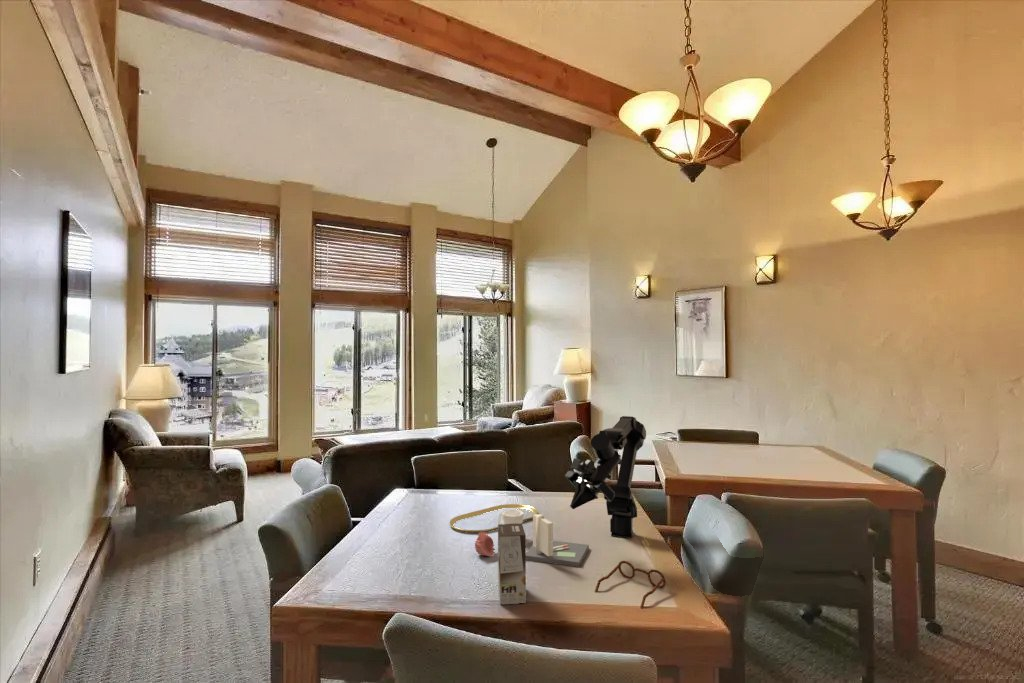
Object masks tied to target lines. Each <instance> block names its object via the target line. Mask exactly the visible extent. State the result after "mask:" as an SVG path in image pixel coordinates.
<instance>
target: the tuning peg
mask: <svg viewBox="0 0 1024 683" xmlns="http://www.w3.org/2000/svg"><path fill="white" fill-rule="evenodd" d="M532 516H533V518H532V545H533V546H534V547H536V553H538V554H543V553H544V554H546V555H547V556H553V549H558V548H564V547H568V545H567V544H566V545H562V546H557V547H553V541H554V530H553V529H554V523H553V522H552V521H550V520H549V519H547V518H545V515H544V514H541V513H540V514H538V513H537V514H535V515H533V514H532Z"/></svg>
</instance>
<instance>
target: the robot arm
mask: <svg viewBox="0 0 1024 683" xmlns="http://www.w3.org/2000/svg"><path fill="white" fill-rule="evenodd" d="M646 438H647V430H646V428H645V425H644V424H643V423H641V422H640V421H638V420H637V417H634V416H629V415H623V416H620V417H619V420H618V422H616V423H615V425H614V426H612V427H610V428H605V429H603V430H599V433H597V434H595V435H594V436H593V437H592V438H591V439H590V445H591V447H592V450H593V452H594V453H595V454H594V455H595V456H596V459H595V460H593V461H592V460H591V459H586V460H585V461H584V460H582V459H578V458H575V457H574V458H573V459H572V462H571V465H570V468H569V469H571V470H568V471H567V472H566V473H565V475H564V477H565V478H566V479H567V480H568V481H569V482H570V484H572V485H573V487H574V488H575V489H574V494H573V497H572V500H571V503H570V505H569V506H570V508H571V509H572V510H575V509H577V508H578V507H581V506H583V505H584V504H587V503H589V502H591V501H595V500H598V499H599V497H598V495H599V494H600V493H601V494H603V500H605V501H606V502H605V504H606V512H607V516H611V517H610V519H609V521H610V522H609V523H610V524H609V525H610V526H609V528H610V533H611V534H610V536H612V537H617V536H620V538H626V537H630V538H629V539H632V538H631V537H633V534H634V532H633V531H634V529H633V527H634V526H633V519H635V518H638V507H637V504H636V501H635V498H634V495H633V493H632V490H631V487H632V482H633V477H634V470H635V463H636V458H637V452H638V451H639V450H640V449H641V448H642V447H643V446H644V441H645V440H646ZM616 450H618V451H621V450H623V451H622V455H621V454H619V453H618V452H617V451H616ZM617 465H619V469H618V475H617V480H616V484H612V485H611V486H609V484H608V483H607V482H606V480H610V479H611V478H612V476H611V475H610V474H611V473H612V472H613V470H614V469H615V467H616V466H617ZM574 470H575V471H574Z"/></svg>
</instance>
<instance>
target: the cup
mask: <svg viewBox="0 0 1024 683" xmlns="http://www.w3.org/2000/svg"><path fill="white" fill-rule="evenodd" d="M524 515H525V513H524V512H523V511H522V510H520V509H506V510H504V511H503V512H501V513H500V514H499V515H498V525H499V524H502V522H503V524H520V523H522V524H523V519H524Z"/></svg>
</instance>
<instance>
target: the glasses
mask: <svg viewBox="0 0 1024 683" xmlns="http://www.w3.org/2000/svg"><path fill="white" fill-rule="evenodd" d="M622 564H625V565H628V566H629V568H630V569H631V571H632V573H631V574H632V575H626V574H625V573H624V571H622ZM616 571H618V572H619V573H620V575H621V576H622V577H624V578H626V579H629V580H631V579H634V578H635V576H636V572H638V573H642V574H645V575H647V578H648V582H649V584H650V585H652V586H653V587H652V589H651V590H650V591H647V592H646V593H645V594H644V595H642V596H643V597H642V600H641V604H640V607H639V609H640V608H641V609H643V608H644V606H645V602H646V599H647V597H649V596H650V595H653V594H654V593H655V591H657V589H663V588H665V586H666V583H667V581H666V578H665V575H664V574H663V572H661V571H660V570H657V569H653V568H652V569H649V570H648V571H647V570H646V569H642V568H638V567H634V565H633V564H632V563H630V562H629V561H627V560H621V561H619V563H618V564H617V565H616V566H615V567H614V568H613V569H612V570H611V571H610V572H609V573H608V574H607V575H606V576H603V577H601V578H599V579H598V580H597V584H596V586H595V589H594V593H595V594H596V593H597V592H599V588H600V585H601V582H603V581H604V580H608V579H610V577H611V576H612V575H613V574H615V572H616ZM652 573H656V574H658V575H659V576H660V577H661V578H660V579H659V581H658V582H657V583H656V584H655V583H654V582H653V580H652V578H651V574H652ZM661 584H662V585H661Z"/></svg>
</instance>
